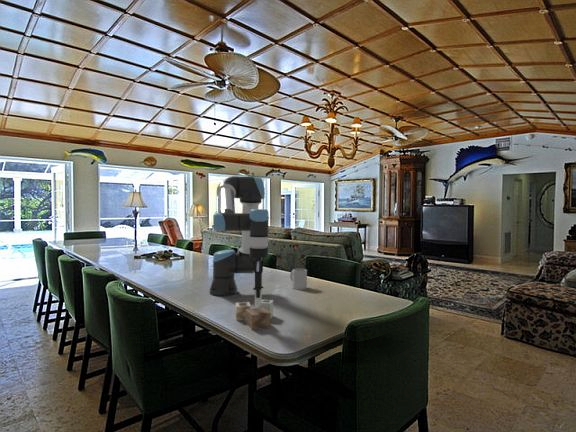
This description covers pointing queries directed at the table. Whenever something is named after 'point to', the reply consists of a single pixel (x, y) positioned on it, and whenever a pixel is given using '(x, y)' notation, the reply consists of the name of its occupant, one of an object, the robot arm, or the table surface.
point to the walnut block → (258, 318)
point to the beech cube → (241, 310)
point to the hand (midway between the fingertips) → (258, 304)
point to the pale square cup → (267, 306)
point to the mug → (299, 278)
